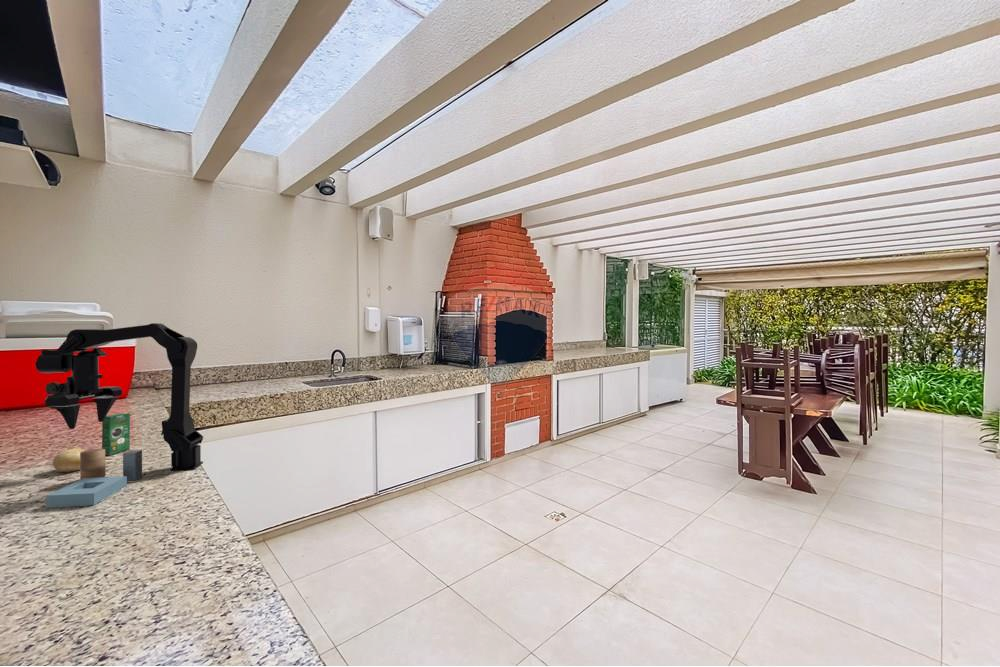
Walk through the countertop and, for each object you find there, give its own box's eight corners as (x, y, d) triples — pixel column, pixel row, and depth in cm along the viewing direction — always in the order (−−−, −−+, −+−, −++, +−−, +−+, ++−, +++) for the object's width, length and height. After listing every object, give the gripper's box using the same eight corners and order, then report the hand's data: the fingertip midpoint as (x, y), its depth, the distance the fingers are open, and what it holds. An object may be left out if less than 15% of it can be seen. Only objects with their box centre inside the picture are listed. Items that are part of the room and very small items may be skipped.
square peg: (142, 477, 126) (142, 450, 125) (135, 481, 123) (135, 453, 123) (130, 478, 125) (130, 450, 125) (123, 482, 122) (123, 453, 122)
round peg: (110, 476, 127) (109, 448, 127) (97, 482, 122) (96, 453, 122) (89, 477, 126) (89, 449, 126) (75, 483, 121) (75, 454, 121)
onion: (96, 467, 134) (95, 444, 134) (63, 476, 127) (62, 451, 126) (79, 465, 137) (79, 442, 137) (46, 473, 129) (45, 448, 129)
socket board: (126, 487, 118) (126, 476, 118) (94, 505, 107) (94, 493, 106) (84, 489, 117) (83, 478, 117) (45, 508, 105) (45, 495, 105)
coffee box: (122, 449, 154) (122, 411, 153) (130, 449, 154) (130, 411, 153) (101, 456, 146) (100, 416, 145) (109, 456, 146) (109, 416, 145)
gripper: (86, 368, 138) (88, 418, 139) (23, 376, 120) (25, 433, 120) (122, 368, 138) (124, 418, 139) (65, 375, 120) (67, 433, 120)
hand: (87, 425), depth 129 cm, fingers open, 9 cm apart
